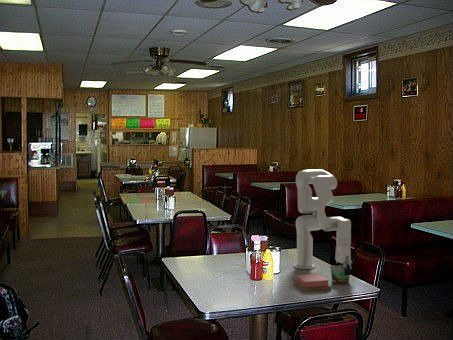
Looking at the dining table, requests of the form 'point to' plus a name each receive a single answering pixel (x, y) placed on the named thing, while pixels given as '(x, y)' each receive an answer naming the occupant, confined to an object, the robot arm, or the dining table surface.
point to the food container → (339, 274)
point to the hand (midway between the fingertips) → (343, 272)
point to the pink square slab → (311, 280)
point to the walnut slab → (312, 288)
